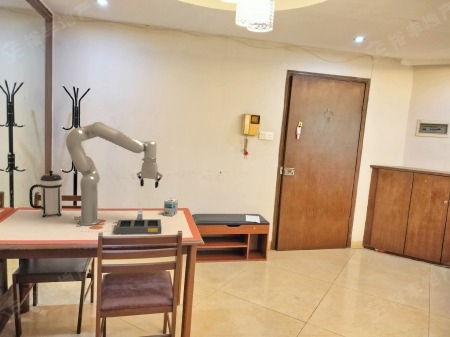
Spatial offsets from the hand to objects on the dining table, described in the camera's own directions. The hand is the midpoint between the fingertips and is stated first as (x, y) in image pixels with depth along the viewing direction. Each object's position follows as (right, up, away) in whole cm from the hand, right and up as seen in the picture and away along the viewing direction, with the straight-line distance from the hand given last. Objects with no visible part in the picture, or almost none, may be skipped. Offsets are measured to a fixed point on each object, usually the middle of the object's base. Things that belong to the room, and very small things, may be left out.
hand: (149, 186), depth 213 cm
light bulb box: (+10, -21, +24) cm, 34 cm away
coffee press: (-68, -19, +6) cm, 71 cm away
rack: (-3, -26, -12) cm, 29 cm away
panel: (-7, -23, +2) cm, 24 cm away
